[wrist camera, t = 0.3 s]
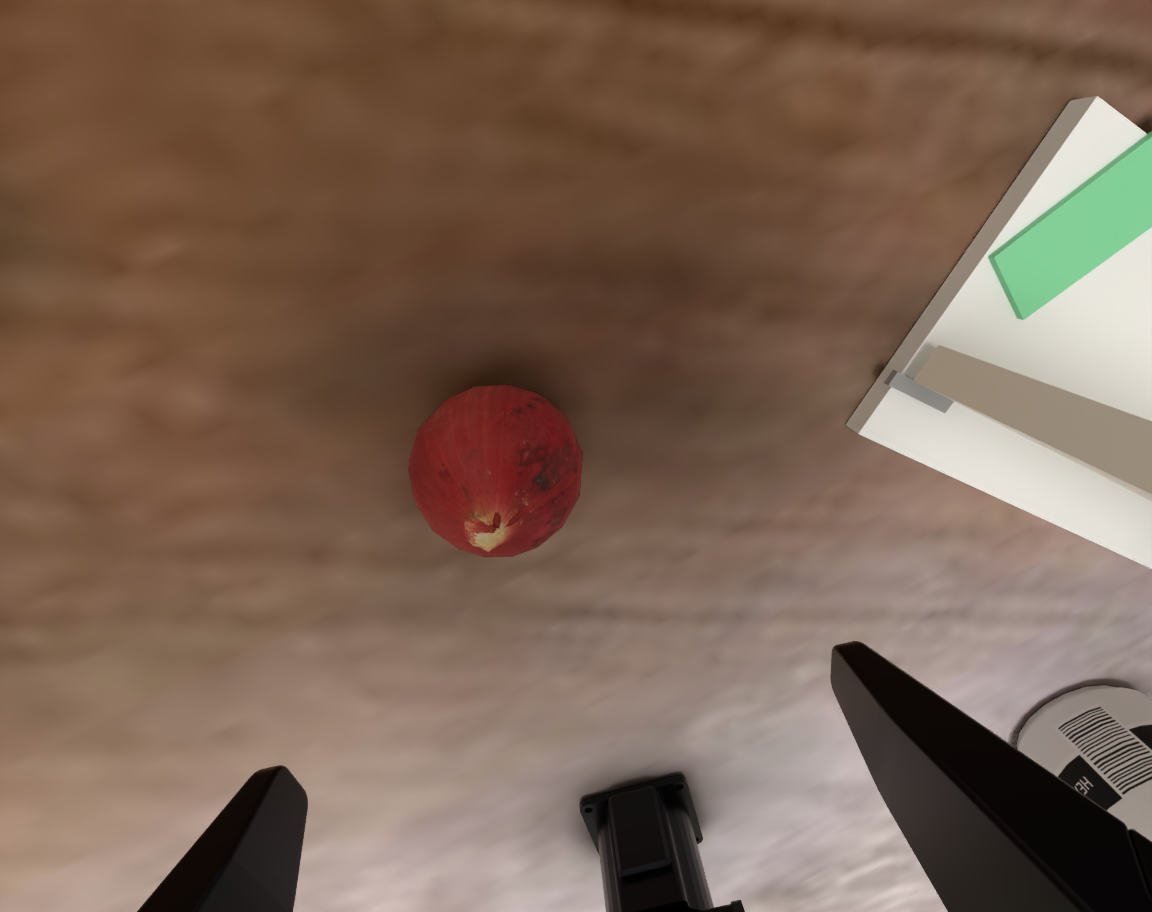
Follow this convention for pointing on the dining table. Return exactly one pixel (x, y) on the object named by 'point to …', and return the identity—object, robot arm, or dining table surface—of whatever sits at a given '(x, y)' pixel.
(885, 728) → the robot arm
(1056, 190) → the white base board
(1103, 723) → the supplement can
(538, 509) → the onion
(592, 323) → the dining table surface
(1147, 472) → the hinged door panel
